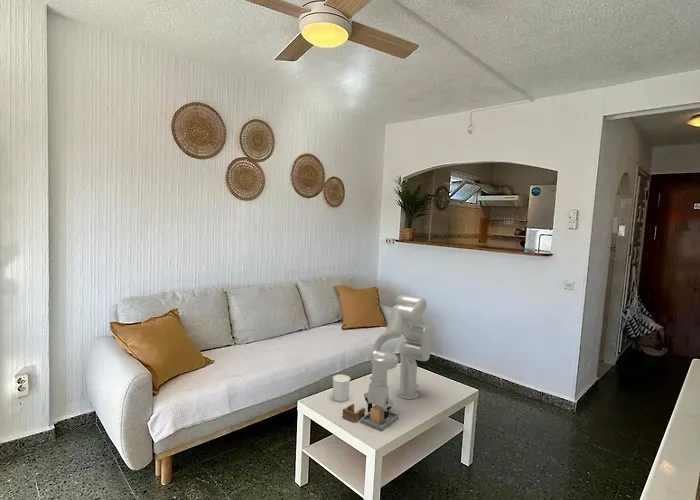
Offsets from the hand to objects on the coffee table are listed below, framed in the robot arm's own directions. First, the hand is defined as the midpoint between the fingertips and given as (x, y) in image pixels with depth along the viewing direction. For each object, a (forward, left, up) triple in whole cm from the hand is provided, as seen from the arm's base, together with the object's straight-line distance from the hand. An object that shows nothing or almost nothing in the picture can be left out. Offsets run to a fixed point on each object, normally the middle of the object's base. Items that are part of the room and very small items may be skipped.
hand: (377, 414), depth 195 cm
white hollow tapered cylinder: (-8, -30, -4) cm, 31 cm away
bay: (+4, -12, -4) cm, 13 cm away
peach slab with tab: (-2, 0, -3) cm, 4 cm away
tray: (-2, 0, -4) cm, 4 cm away
